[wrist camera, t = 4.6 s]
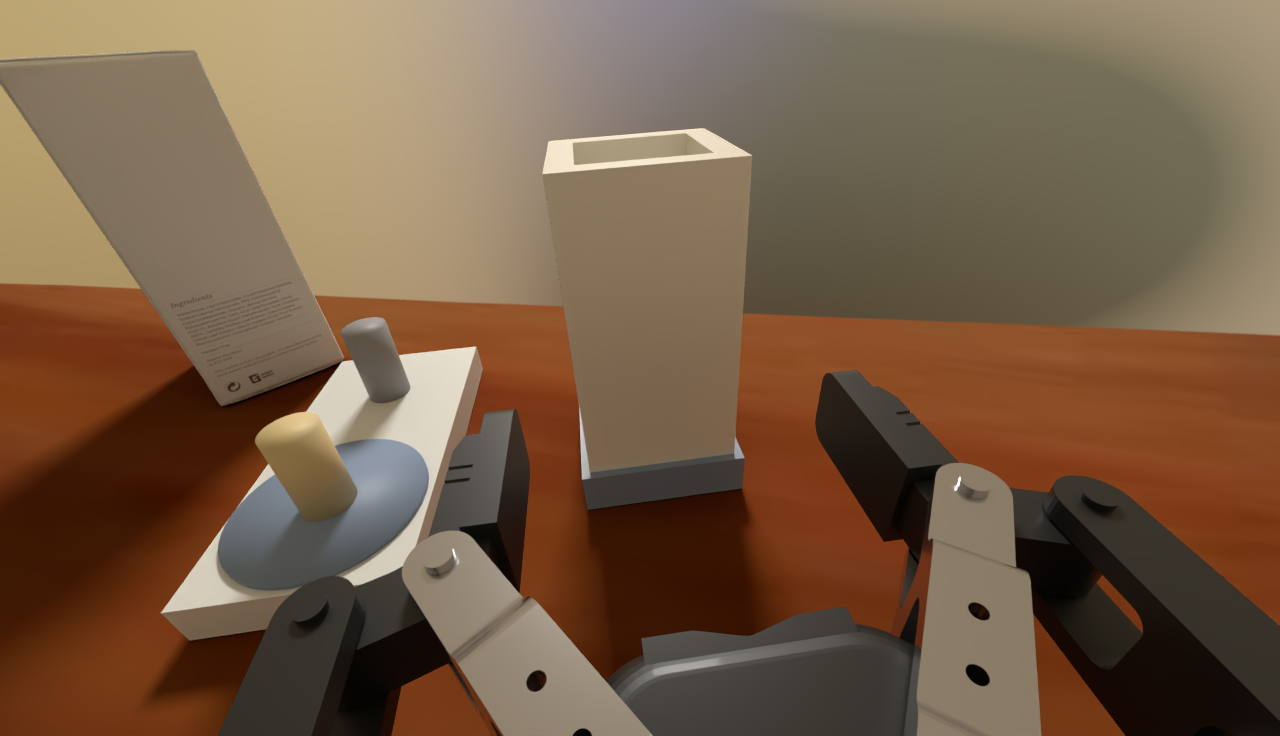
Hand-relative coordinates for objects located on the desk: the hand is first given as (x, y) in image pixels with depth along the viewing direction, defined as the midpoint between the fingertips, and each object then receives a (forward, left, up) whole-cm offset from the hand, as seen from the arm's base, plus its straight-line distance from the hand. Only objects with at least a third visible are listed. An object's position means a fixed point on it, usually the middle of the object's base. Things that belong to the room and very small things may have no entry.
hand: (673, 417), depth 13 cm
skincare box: (-2, +28, -7) cm, 29 cm away
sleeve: (+4, +4, -6) cm, 9 cm away
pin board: (-3, +13, -6) cm, 15 cm away
